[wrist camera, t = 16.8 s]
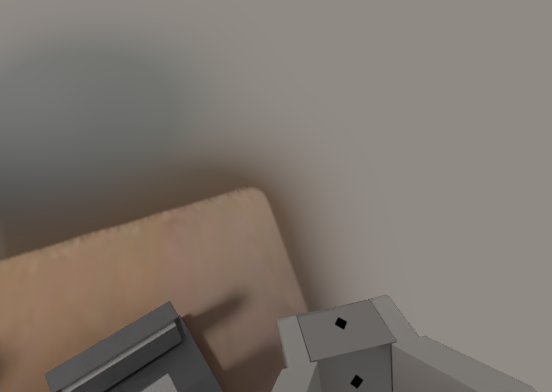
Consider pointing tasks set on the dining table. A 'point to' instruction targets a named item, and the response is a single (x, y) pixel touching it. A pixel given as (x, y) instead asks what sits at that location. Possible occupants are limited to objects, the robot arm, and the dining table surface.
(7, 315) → the dining table surface
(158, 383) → the steel block
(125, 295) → the dining table surface
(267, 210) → the dining table surface
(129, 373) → the vise
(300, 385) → the robot arm
